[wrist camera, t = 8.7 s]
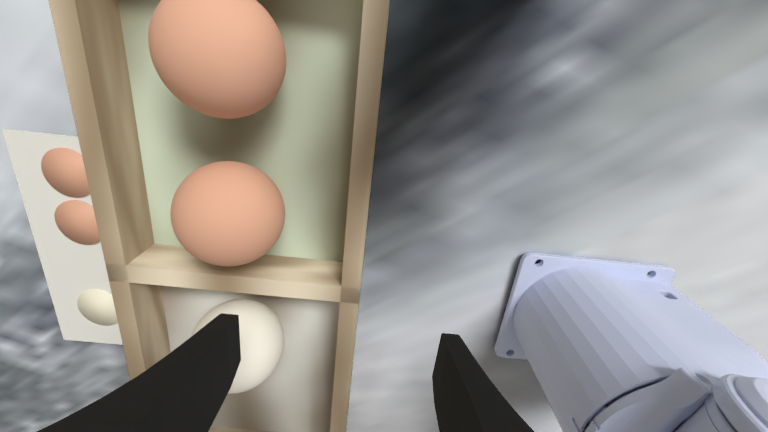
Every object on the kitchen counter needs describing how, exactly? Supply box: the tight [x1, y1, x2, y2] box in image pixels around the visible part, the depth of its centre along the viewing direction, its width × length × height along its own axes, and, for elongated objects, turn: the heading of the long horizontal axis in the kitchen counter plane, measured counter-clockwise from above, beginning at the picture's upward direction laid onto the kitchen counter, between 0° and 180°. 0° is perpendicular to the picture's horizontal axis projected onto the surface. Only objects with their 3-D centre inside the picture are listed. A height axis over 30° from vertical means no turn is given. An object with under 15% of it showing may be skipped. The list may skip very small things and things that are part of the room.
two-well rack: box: [49, 0, 390, 432], centre depth 20 cm, size 13×31×4 cm, turn 174°
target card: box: [2, 129, 123, 345], centre depth 22 cm, size 6×14×1 cm, turn 174°
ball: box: [148, 0, 286, 119], centre depth 14 cm, size 5×5×5 cm
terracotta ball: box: [170, 161, 285, 266], centre depth 17 cm, size 5×5×5 cm
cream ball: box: [191, 299, 285, 394], centre depth 20 cm, size 5×5×5 cm
